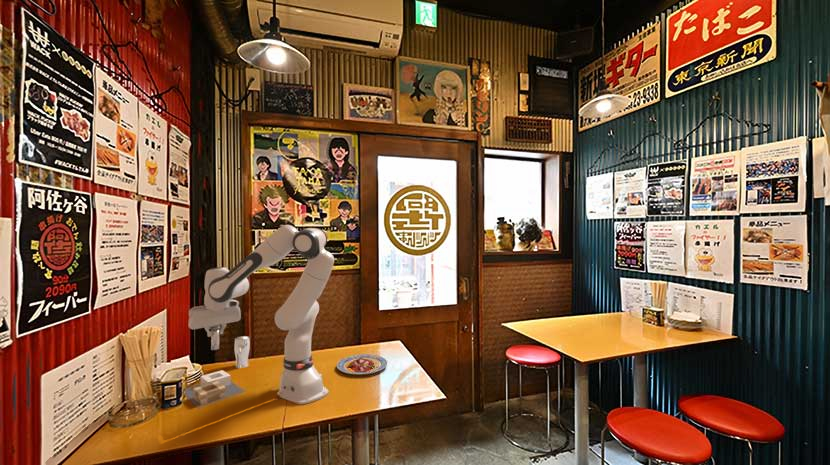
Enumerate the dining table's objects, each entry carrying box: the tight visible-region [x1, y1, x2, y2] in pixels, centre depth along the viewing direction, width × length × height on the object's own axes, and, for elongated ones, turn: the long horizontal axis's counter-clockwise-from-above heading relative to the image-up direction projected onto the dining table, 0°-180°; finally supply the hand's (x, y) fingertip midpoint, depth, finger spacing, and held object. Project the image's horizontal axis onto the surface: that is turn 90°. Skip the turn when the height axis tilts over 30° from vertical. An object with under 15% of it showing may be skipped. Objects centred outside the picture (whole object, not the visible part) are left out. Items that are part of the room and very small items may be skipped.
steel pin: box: [209, 324, 222, 351], centre depth 149 cm, size 4×4×10 cm
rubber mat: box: [183, 380, 246, 409], centre depth 144 cm, size 22×18×1 cm
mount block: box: [193, 381, 226, 405], centre depth 138 cm, size 9×9×4 cm
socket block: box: [200, 369, 232, 386], centre depth 150 cm, size 9×9×4 cm
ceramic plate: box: [336, 353, 388, 375], centre depth 174 cm, size 26×26×3 cm
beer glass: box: [234, 335, 251, 369], centre depth 171 cm, size 7×7×15 cm
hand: (215, 335), depth 149 cm, fingers closed on steel pin, 3 cm apart
